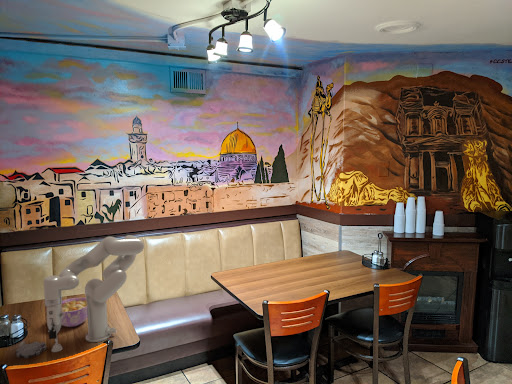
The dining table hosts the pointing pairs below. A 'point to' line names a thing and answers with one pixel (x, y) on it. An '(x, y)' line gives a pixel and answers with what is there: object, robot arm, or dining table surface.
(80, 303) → the bowl of food
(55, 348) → the chalice
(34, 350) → the gear trivet
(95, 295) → the robot arm
